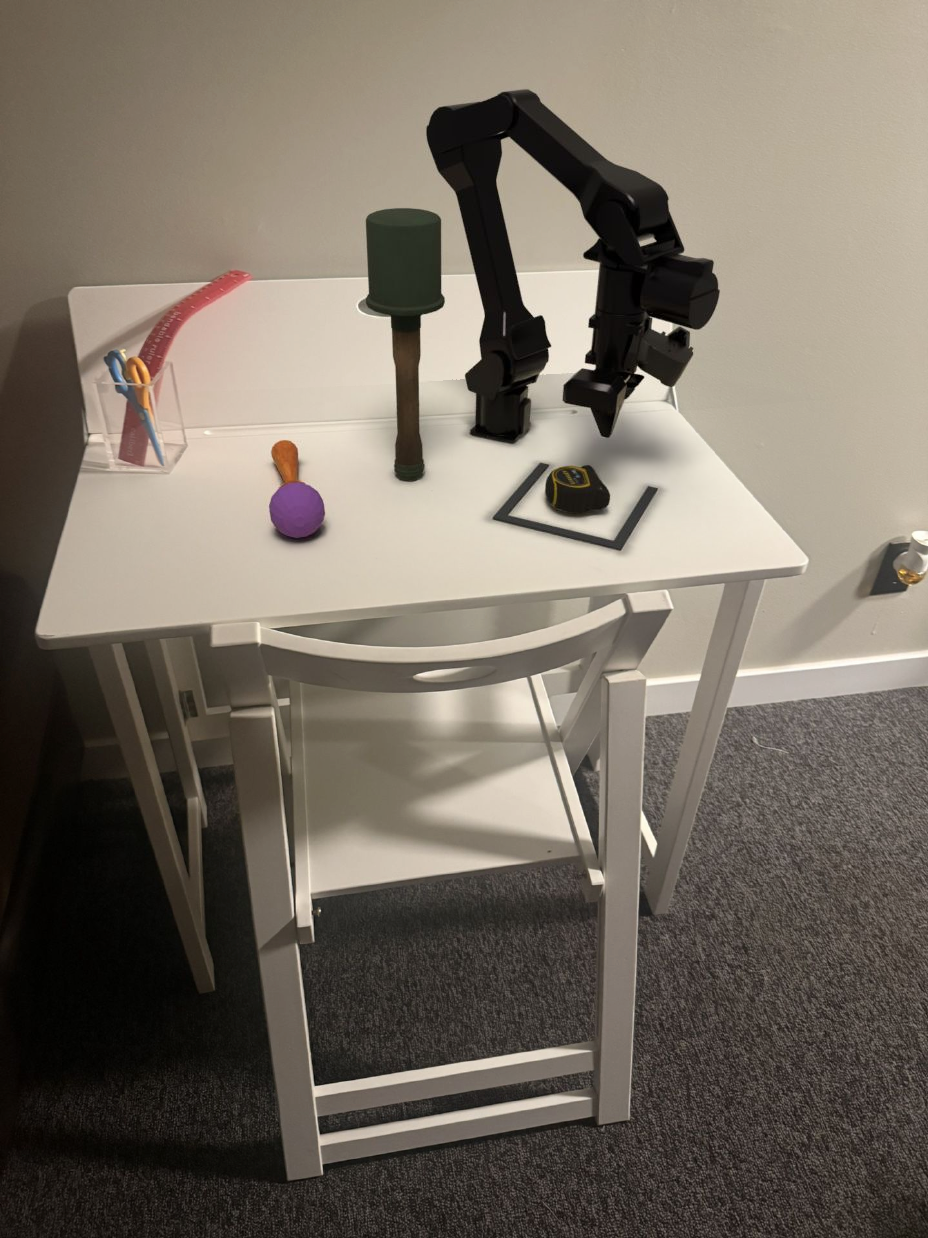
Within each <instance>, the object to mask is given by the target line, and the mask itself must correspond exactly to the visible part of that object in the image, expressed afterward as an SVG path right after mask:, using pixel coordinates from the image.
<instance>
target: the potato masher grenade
mask: <svg viewBox="0 0 928 1238" xmlns="http://www.w3.org/2000/svg"><path fill="white" fill-rule="evenodd" d="M365 232H366V233H365V237H366V239H365V240H366V258H367V259H366V260H367V281H368V282H367V283H368V294H367V295H366V297H365V304H366V306H367V308H368V309H370V310H372V311H374V313H378V314H383V315H387V316H390V328H391V345H392V359H393V364H394V372H395V401H396V430H397V431H396V432H397V433H396V439H395V444H394V452H395V453H394V454H395V456H394V458H395V459H394V464H393V468H394V473H395V474H396V477H397V478H399V479H400V480H402V481H407V482H408V481H409V482H412V481H417V480H419V479H420V478H421V477H422V476H423V474H424V472H425V460H424V458H423V457H424V454H423V452H424V449H423V442H422V436H421V432H420V431H421V430H420V371H419V370H420V361H421V356H422V355H421V351H422V350H421V347H422V346H421V328H422V316H423V315H428V314H432V313H436V312H437V311H439V310H441V309H443V308H444V307H445V306H444V305H445V303H446V298H445V296H444V295H443V294H442V218H441V216H439V214H438V213H435V212H433V211H430V210H428V209H427V210H426V209H421V208H413V207H411V208H410V207H394V208H384V209H380V210H376V211H373V212H371V213H369V214H368V215H367V216H366V218H365Z"/></svg>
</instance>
